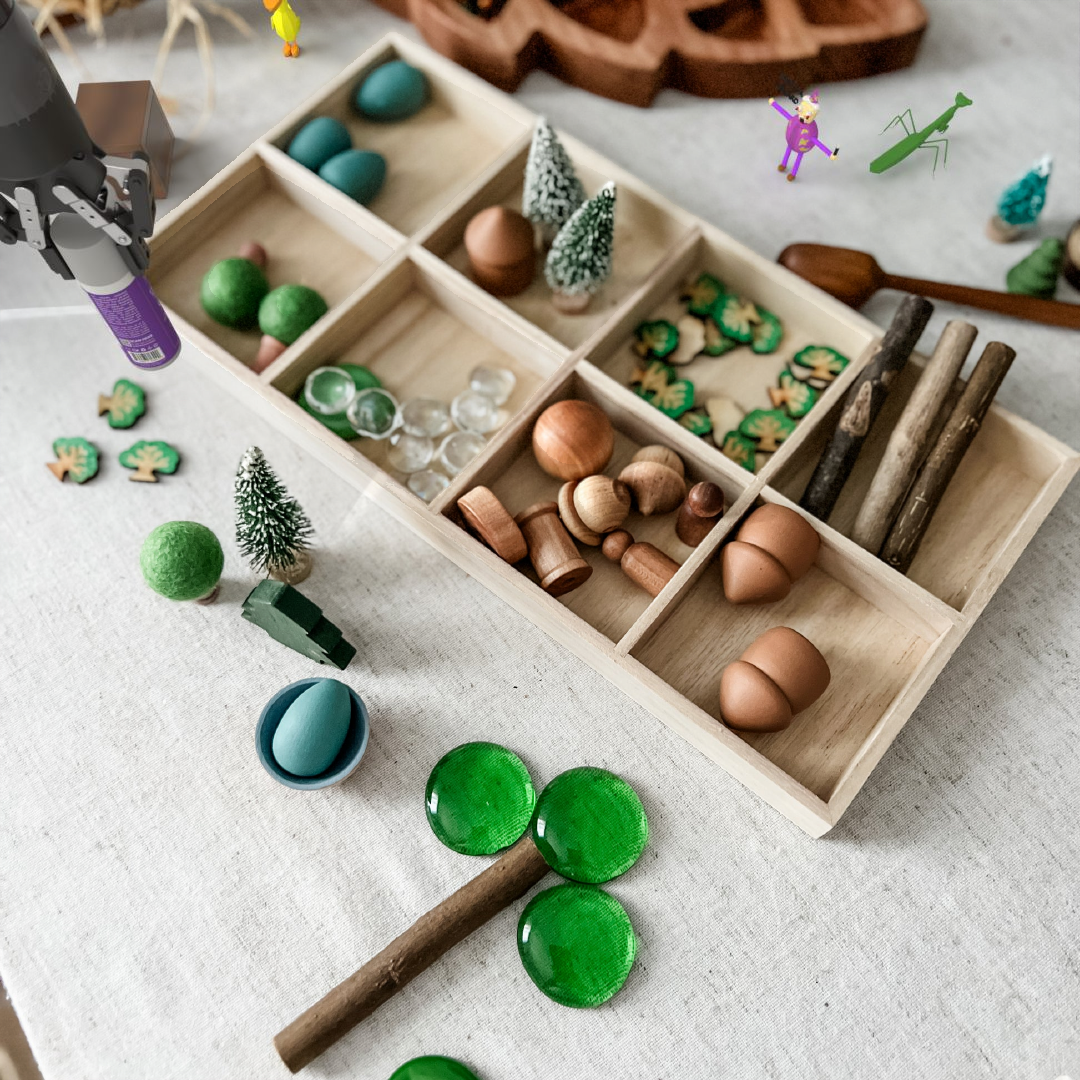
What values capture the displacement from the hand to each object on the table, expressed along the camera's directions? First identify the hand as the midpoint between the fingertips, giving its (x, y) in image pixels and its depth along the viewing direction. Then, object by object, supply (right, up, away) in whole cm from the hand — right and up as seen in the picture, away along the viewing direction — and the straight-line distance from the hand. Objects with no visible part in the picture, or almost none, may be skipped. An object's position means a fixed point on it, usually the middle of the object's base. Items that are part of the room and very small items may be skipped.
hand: (106, 269), depth 73 cm
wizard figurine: (+64, +22, +38) cm, 78 cm away
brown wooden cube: (-14, +23, +38) cm, 47 cm away
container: (0, -4, +10) cm, 11 cm away
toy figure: (+2, +41, +47) cm, 63 cm away
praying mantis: (+78, +25, +40) cm, 91 cm away
